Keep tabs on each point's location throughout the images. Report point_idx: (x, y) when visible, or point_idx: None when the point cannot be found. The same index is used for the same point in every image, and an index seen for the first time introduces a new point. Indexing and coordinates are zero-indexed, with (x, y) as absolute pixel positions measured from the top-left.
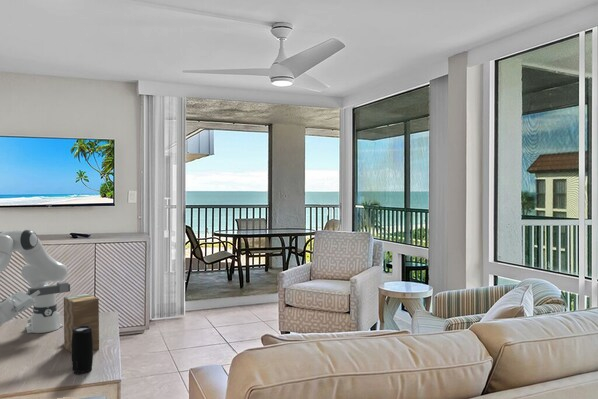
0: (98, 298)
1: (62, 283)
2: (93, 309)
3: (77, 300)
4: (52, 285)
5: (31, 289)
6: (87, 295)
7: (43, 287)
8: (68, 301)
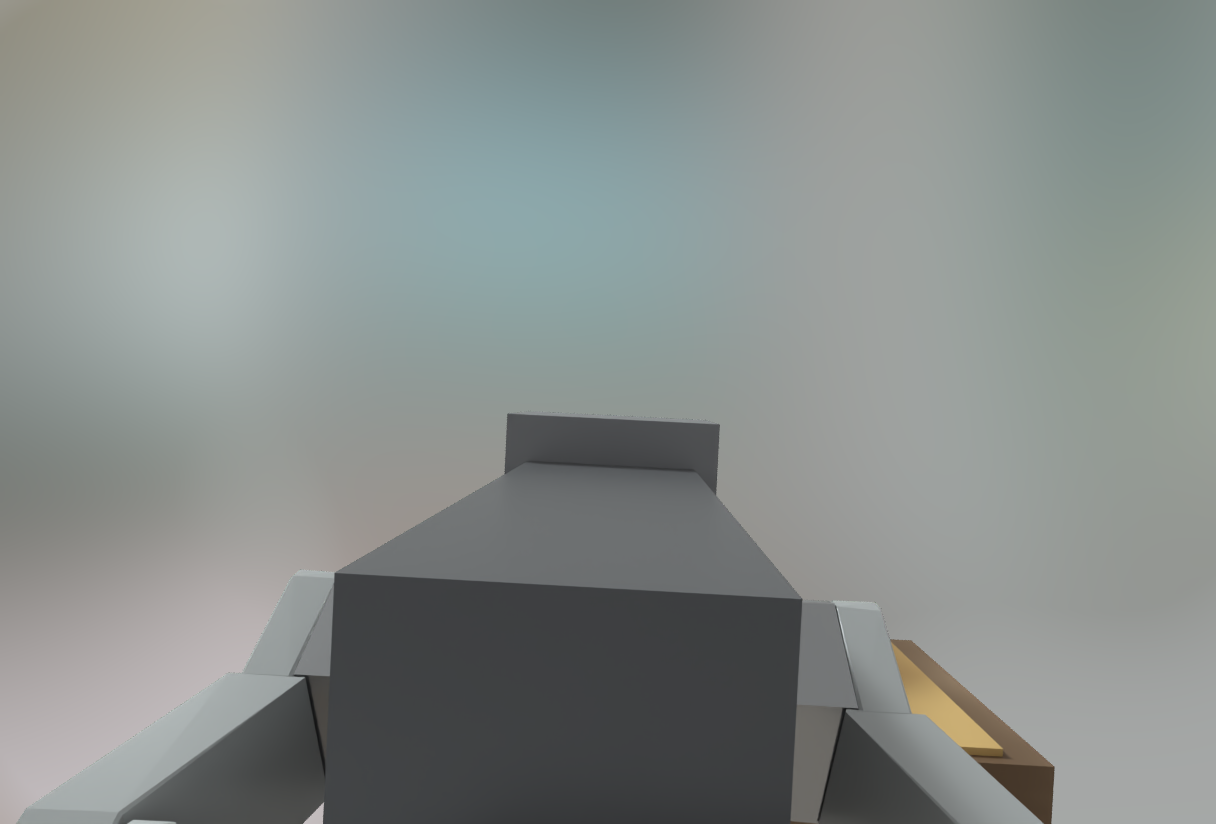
0: (907, 640)
1: (711, 422)
2: None
3: (932, 718)
4: (551, 471)
5: (791, 594)
6: None
7: (678, 504)
8: None
